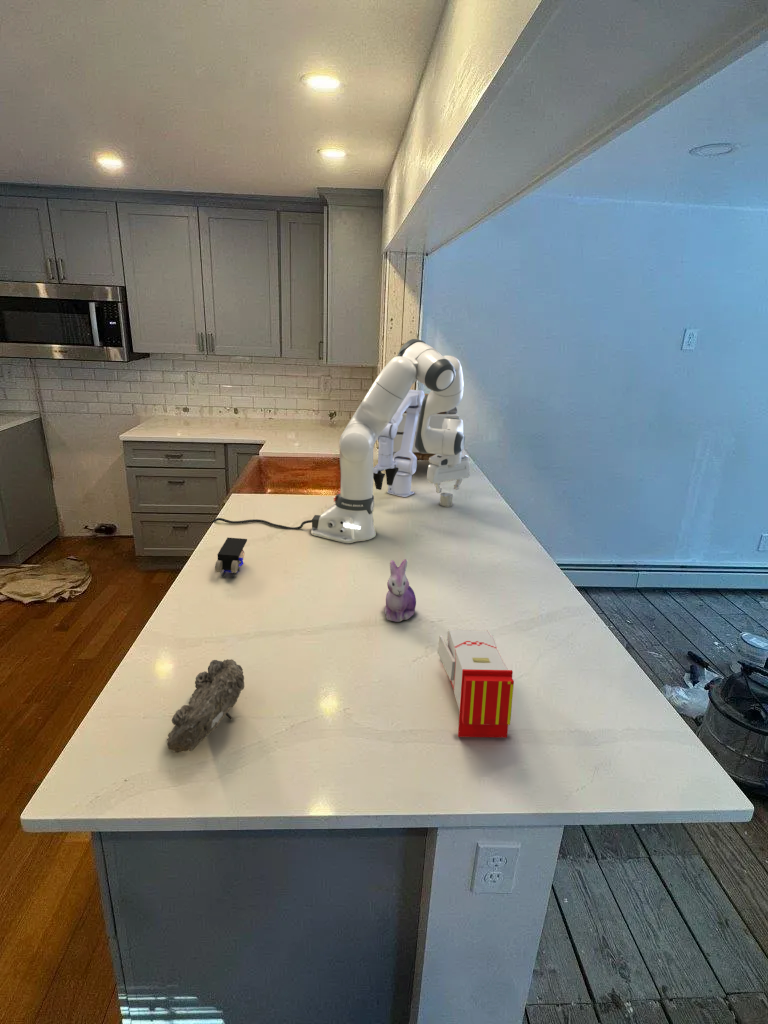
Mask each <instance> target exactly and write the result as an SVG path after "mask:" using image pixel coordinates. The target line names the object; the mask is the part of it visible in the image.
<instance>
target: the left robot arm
mask: <svg viewBox="0 0 768 1024" xmlns="http://www.w3.org/2000/svg"><path fill="white" fill-rule="evenodd" d="M416 382H419V383H420V384H421V385H423V386H425V387H426V388H427V389H428V390H430V391H429V393H426V394H427V395H425V397H424V399H423V402H422V405H421V411H420V416H419V423H418V429H417V433H416V436H415V441H414V444H415V448H416V449H417V450H418V451H419V452H420V453H421V454H430V453H431V454H435V455H434V456H432V457H430V458H429V460H428V463H429V464H428V466H427V472H426V481H427V482H428V483H430V484H432V485H434V488H435V492H436V493H437V494H441V493H443V492H442V491H443V488H442V487H440V486H441V484H442V483H445V482H451V481H456V482H455V484H453V490H456V491H457V490H460V485H461V484H462V481H463V479H467V478H469V476H471V475H470V474H471V472H470V471H471V465H470V457H469V456H468V455H466V454H465V455H463V451H464V449H465V440H466V436H465V435H464V421H463V420H464V419H462V418H460V417H459V418H449V417H447V418H444V420H443V425H442V429H436V428H431V427H429V422H430V416H432V415H434V414H437V413H440V412H446V411H449V410H452V409H454V408H455V407H456V408H457V407H458V406H459V405H460V403H461V402H462V401H463V398H464V397H463V396H464V385H465V384H464V374H463V367H462V364H461V361H460V360H459V359H458V358H457V357H456V356H454V355H442V354H441V353H440V352H439V351H438V350H437V349H436V348H434V347H432V346H431V345H429V344H427V343H426V342H425V341H423V340H421V339H418V338H411V339H408V341H406V342H405V343H404V344H403V345H402V346H401V348H400V349H399V351H398V353H397V356H393V357H392V358H391V359H390V360H389V361H388V362H387V363H386V364H385V366H384V367H383V368H382V369H381V371H380V372H379V373H378V375H377V376H376V378H375V380H374V381H373V383H372V384H371V386H370V388H369V389H368V391H367V392H366V394H365V395H364V398H363V399H362V401H361V402H360V403H359V405H358V407H357V409H356V411H355V412H354V414H353V415H352V417H351V418H350V420H349V421H348V423H347V425H346V426H345V428H344V430H343V432H342V433H341V435H340V437H339V440H338V441H339V442H338V449H339V451H338V452H339V469H340V488H339V489H340V490H339V491H338V492H337V494H336V495H335V496H334V497H333V502H334V504H333V505H331V506H329V507H328V508H326V509H325V510H323V512H321V514H314V515H313V517H312V519H307V520H304V521H302V522H301V523H300V525H299V526H296V527H294V526H293V527H290V526H286V525H282V524H277V523H273V522H271V521H268V520H265V519H256V518H255V519H245V520H229V519H226V518H223V517H217V518H213V520H212V521H211V523H215V522H217V521H221V522H225V523H228V524H232V525H233V524H234V525H236V524H246V523H247V524H248V523H262V524H266V525H269V526H271V527H274V528H275V527H276V528H279V529H284V530H301V529H302V528H303V527H304V525H306V524H310V523H311V530H310V533H311V536H315V537H319V538H323V539H326V540H330V541H336V542H339V543H343V544H352V543H357V542H365V541H368V540H372V539H373V538H375V537H376V535H377V532H376V528H375V523H374V513H373V512H374V509H375V496H374V479H373V467H374V447H375V444H376V442H377V441H378V440H377V439H378V437H379V436H380V434H381V433H382V431H383V430H384V428H385V427H386V426H387V424H388V423H389V422H390V420H391V419H392V417H393V416H394V414H395V413H396V411H397V410H398V408H399V406H400V405H401V403H402V402H403V400H404V399H405V397H406V395H407V394H408V392H409V390H411V388H412V386H413V385H414V384H415V383H416Z"/></svg>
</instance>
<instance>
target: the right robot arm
mask: <svg viewBox="0 0 768 1024" xmlns="http://www.w3.org/2000/svg"><path fill="white" fill-rule="evenodd" d="M425 394H426V393H425V392H424V390H422V389H421V390H420V389H419V390H418V389H410V390H409V392H408V394H407V395H406V397H405V399H404V400H403V402H402V403H401V405H400V406H399V408H398V410H397V411H396V413H395V414H394V416H393V417H392V419H391V420H390V422H389V423H388V424H387V426H386V427H385V428H384V430H383V431H382V433H381V434H380V436H379V437H378V439H377V440H376V441H377V442H378V451H377V464H376V465H375V466H373V483H374V486H375V489H376V490H377V491H381V490H382V488H383V482H384V478H385V477H386V479H385V481H386V485H387V491H386V493H387V494H389V495H393V496H398V497H401V498H407V497H409V496H413V495H414V494H415V491H412V479H413V477H412V476H413V475H414V474H415V473H416V472H417V469H418V468H417V467H418V464H417V462H418V460H417V457H416V456H415V455H414V454H413V453H412V448H413V442H414V437H415V431H416V426H417V421H418V416H419V413H420V411H421V405H422V402H423V399H424V397H425ZM405 411H406V412H407V416H406V422H405V427H404V433H403V438H402V443H401V449H400V450H399V451H398V452H396V453H395V454H394V456H393V443H394V438H395V437H396V434H397V430H398V426H399V424H400V422H401V421H402V419H403V416H402V414H403V413H404V412H405ZM401 457H404V458H410V459H411V460H410V459H404V458H401ZM383 471H384V472H385V473H383Z"/></svg>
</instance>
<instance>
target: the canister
mask: <svg viewBox="0 0 768 1024" xmlns="http://www.w3.org/2000/svg"><path fill="white" fill-rule="evenodd" d="M439 495H440V496H439V505H440V506H441V507H446V508H447V507H452V506H453V500H454V499H453V498H454V497H453V496H454V495H453V493H450V492H441V493H439Z"/></svg>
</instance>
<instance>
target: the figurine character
mask: <svg viewBox="0 0 768 1024" xmlns="http://www.w3.org/2000/svg"><path fill="white" fill-rule="evenodd" d="M247 542H248V538H240V537H226V539H225V541H224V543H223V544H222V546H221V547H220V549H219V551H218V552H217V560H216V562H215V564H214V572H215V573H221V577H222V578H224V577H225V576H226V574H227V573H230V574H231V573H232V574H231V578H234V577H235V575H236V573H237V572H239V571H240V567H242V566H243V565H244V564H245V562H244V558H245V551H244V547H245V546H246V544H247Z"/></svg>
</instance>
